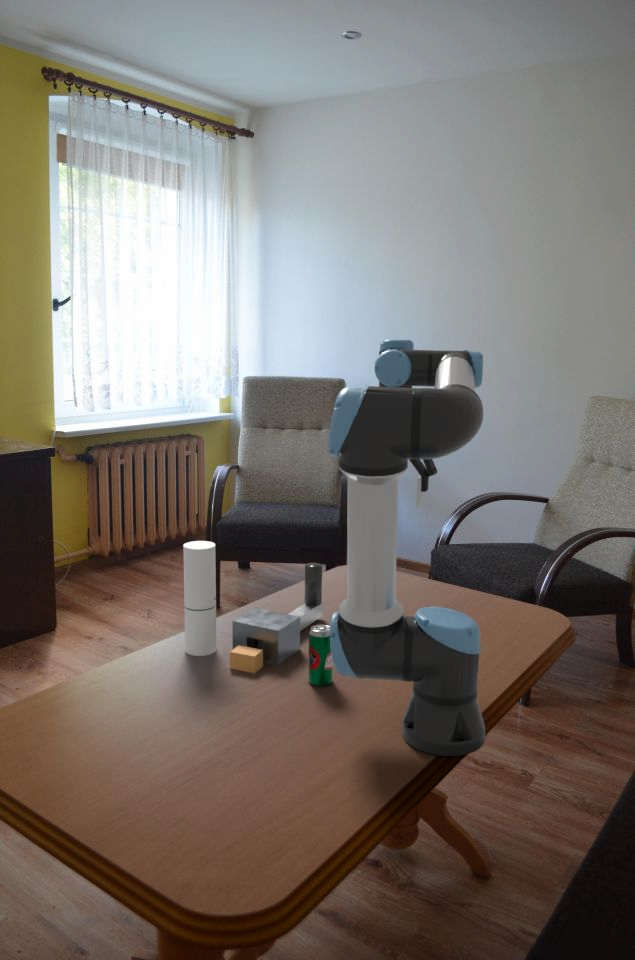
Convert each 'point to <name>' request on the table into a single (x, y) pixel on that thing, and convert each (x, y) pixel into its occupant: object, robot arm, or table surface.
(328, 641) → the soda can
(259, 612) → the block
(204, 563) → the cylindrical container
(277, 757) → the table surface
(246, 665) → the block
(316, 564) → the shaft
